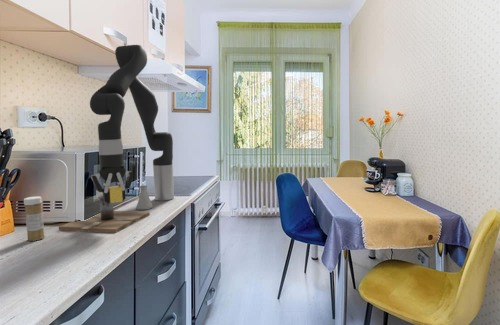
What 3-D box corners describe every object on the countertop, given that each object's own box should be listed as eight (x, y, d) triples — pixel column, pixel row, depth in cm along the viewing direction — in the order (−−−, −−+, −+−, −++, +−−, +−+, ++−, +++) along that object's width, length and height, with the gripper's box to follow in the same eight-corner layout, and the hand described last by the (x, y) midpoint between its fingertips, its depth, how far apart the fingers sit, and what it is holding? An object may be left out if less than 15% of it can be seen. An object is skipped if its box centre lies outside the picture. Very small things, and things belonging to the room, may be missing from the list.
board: (101, 213, 127) (101, 209, 127) (149, 214, 123) (149, 211, 123) (56, 230, 104) (56, 226, 104) (114, 233, 100) (113, 229, 100)
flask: (155, 206, 137) (154, 184, 136) (148, 210, 130) (147, 187, 129) (140, 206, 138) (139, 184, 137) (132, 210, 131) (131, 187, 130)
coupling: (94, 197, 113) (93, 183, 113) (112, 194, 118) (111, 181, 117) (106, 203, 102) (105, 189, 101) (126, 200, 106) (125, 186, 106)
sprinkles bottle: (34, 236, 99) (30, 196, 98) (48, 236, 99) (44, 195, 97) (23, 241, 94) (19, 199, 93) (38, 241, 94) (34, 198, 93)
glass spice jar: (107, 216, 117) (106, 195, 117) (117, 216, 117) (116, 196, 116) (96, 220, 111) (95, 199, 110) (107, 221, 110) (106, 199, 110)
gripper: (129, 151, 111) (132, 197, 113) (85, 153, 102) (89, 203, 104) (136, 152, 105) (139, 200, 107) (90, 155, 96) (94, 207, 98)
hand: (114, 201), depth 106 cm, fingers closed on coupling, 4 cm apart
